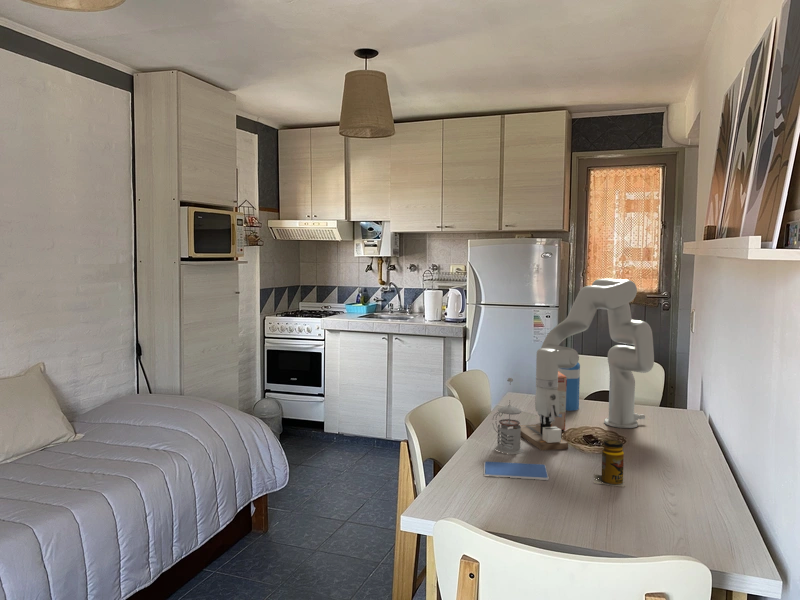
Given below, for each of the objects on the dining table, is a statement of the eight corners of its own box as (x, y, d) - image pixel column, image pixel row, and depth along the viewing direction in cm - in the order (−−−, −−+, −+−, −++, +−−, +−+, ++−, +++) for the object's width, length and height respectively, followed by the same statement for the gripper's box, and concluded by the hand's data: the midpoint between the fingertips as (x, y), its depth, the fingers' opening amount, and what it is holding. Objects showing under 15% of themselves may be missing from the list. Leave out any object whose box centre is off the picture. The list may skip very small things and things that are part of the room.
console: (537, 429, 229) (537, 423, 229) (568, 448, 206) (568, 442, 205) (513, 430, 227) (513, 425, 227) (541, 450, 203) (541, 444, 203)
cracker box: (566, 430, 228) (567, 376, 226) (550, 430, 228) (551, 376, 226) (557, 420, 242) (558, 369, 240) (542, 420, 242) (543, 369, 240)
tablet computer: (483, 478, 179) (483, 474, 179) (483, 464, 191) (484, 460, 191) (549, 482, 176) (549, 478, 176) (545, 468, 188) (545, 463, 188)
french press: (511, 456, 197) (512, 381, 196) (484, 447, 206) (485, 376, 204) (529, 450, 204) (530, 378, 202) (502, 442, 212) (503, 373, 211)
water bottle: (558, 410, 258) (559, 353, 257) (555, 405, 268) (557, 349, 266) (580, 411, 257) (581, 353, 255) (577, 406, 266) (578, 350, 264)
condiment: (624, 487, 171) (626, 446, 170) (594, 483, 174) (595, 443, 173) (623, 478, 178) (624, 439, 177) (593, 475, 180) (594, 436, 180)
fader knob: (555, 438, 209) (555, 426, 209) (561, 441, 205) (561, 429, 205) (542, 439, 208) (542, 427, 208) (547, 442, 204) (548, 430, 204)
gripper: (567, 387, 204) (565, 440, 205) (546, 378, 218) (545, 428, 219) (546, 388, 202) (545, 441, 203) (527, 379, 216) (526, 429, 218)
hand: (545, 434), depth 211 cm, fingers closed
